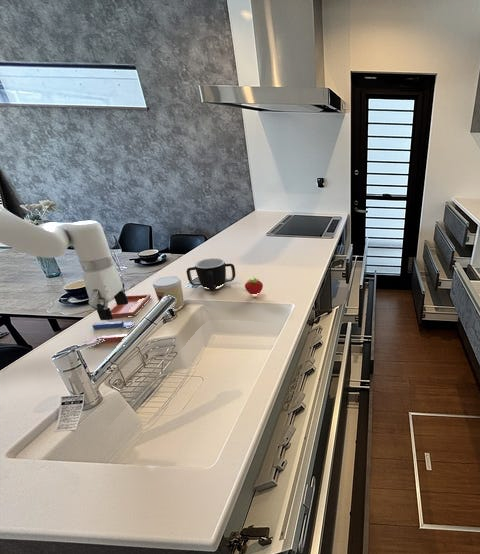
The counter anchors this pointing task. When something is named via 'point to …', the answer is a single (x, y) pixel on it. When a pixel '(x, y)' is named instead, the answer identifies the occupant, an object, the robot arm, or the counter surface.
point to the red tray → (129, 306)
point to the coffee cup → (169, 289)
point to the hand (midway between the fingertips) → (115, 311)
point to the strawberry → (254, 286)
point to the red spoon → (108, 338)
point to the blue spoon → (111, 325)
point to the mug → (211, 273)
